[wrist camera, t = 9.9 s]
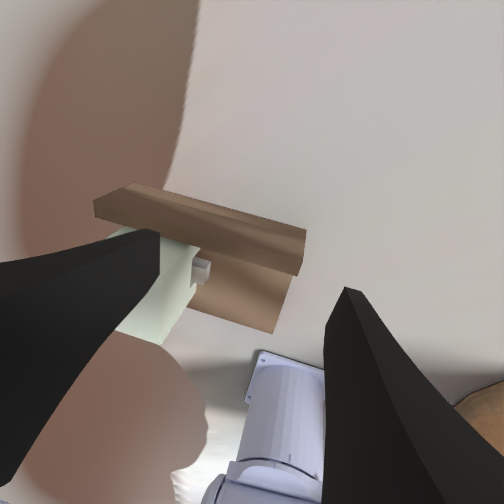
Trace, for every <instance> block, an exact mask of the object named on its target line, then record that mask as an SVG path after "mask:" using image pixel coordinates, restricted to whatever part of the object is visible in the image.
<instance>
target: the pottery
mask: <svg viewBox="0 0 504 504" xmlns="http://www.w3.org/2000/svg"><path fill="white" fill-rule="evenodd" d="M454 409H455V410H456V411H457V412H458V413H459V414H460V415H461V416H462V417H463V418H464V419H465V420H466V421H467V422H468V423H469V424H470V425H471V426H472V427H473V428H474V429H475V430H476V431H477V432H478V433H479V434H480V435H481V436H482V437H483V438H484V439H485V440H486V441H487V442H489V443H490V444H491V445H492V446H493V447H494V448H495V449H496V450H497V451H498V452H499V453H500V454H501V455H503V456H504V381H502V382H500V383H497V384H495V385H492V386H490V387H487V388H485V389H482V390H480V391H477V392H475V393H472V394H470V395H469V396H467V397H466V398H465V399H464V400H463V401H461V402H460V403H459V404H458V405H456V406H455V407H454Z"/></svg>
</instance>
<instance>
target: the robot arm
mask: <svg viewBox="0 0 504 504" xmlns="http://www.w3.org/2000/svg"><path fill="white" fill-rule="evenodd" d="M159 275H160V232H157V231H153V230H150V229H147V228H145V229H140V230H136V231H132V232H128V233H125V234H121V235H118V236H115V237H111V238H108V239H104V240H101V241H97V242H94V243H91V244H87V245H83V246H79V247H75V248H71V249H68V250H63V251H60V252H55V253H51V254H46V255H42V256H37V257H31V258H26V259H21V260H15V261H9V262H1V263H0V487H2V486H4V485H5V484H7V483H8V482H10V481H11V479H12V478H13V476H14V474H15V473H16V471H17V469H18V468H19V466H20V464H21V463H22V461H23V459H24V458H25V456H26V454H27V453H28V451H29V450H30V448H31V446H32V445H33V443H34V441H35V440H36V438H37V437H38V435H39V434H40V432H41V430H42V429H43V427H44V426H45V424H46V423H47V421H48V420H49V418H50V417H51V415H52V414H53V412H54V411H55V409H56V407H57V406H58V405H59V403H60V401H61V400H62V398H63V397H64V396H65V394H66V393H67V391H68V390H69V388H70V387H71V386H72V384H73V383H74V381H75V380H76V378H77V377H78V375H79V374H80V373H81V371H82V370H83V369H84V367H85V366H86V364H87V363H88V362H89V361H90V359H91V358H92V356H93V355H94V354H95V352H96V351H97V350H98V348H99V347H100V346H101V345H102V344H103V342H104V341H105V340H106V338H108V336H109V335H110V334H111V333H112V332H113V331H114V330H115V329H116V328H117V327H118V325H119V324H120V323H121V322H122V321H123V320H124V319H125V318H126V317H127V316H128V314H129V313H130V312H131V311H132V310H133V309H134V308H135V307H136V306H137V304H138V303H139V302H140V301H141V300H142V299H143V298H144V297H145V295H146V294H147V293H148V291H149V290H150V289H151V287H152V286H153V284H154V283H155V281H156V280H157V278H158V276H159ZM323 357H324V370H321V369H318V368H315V367H312V366H309V365H306V364H303V363H299V362H296V361H293V360H290V359H287V358H284V357H281V356H278V355H275V354H272V353H269V352H266V351H261V352H260V354H259V357H258V360H257V363H256V366H255V369H254V372H253V375H252V378H251V381H250V384H249V387H248V391H247V394H246V397H245V400H244V401H245V403H246V404H249V409H248V413H247V417H246V421H245V425H244V430H243V434H242V438H241V442H240V446H239V450H238V455H237V459H236V462H234V461H230V463H229V466H228V470H227V474H226V475H225V474H219V475H218V476H217V477H216V478H215V480H214V481H213V482H211V484H210V485H209V486H208V488H207V490H206V492H205V494H204V496H203V499H202V501H201V504H504V456H503V455H501V454H500V453H499V452H498V451H497V450H496V449H495V448H494V447H493V446H492V445H491V444H490V443H489V442H487V441H486V440H485V439H484V438H483V437H482V436H481V435H480V434H479V433H478V432H477V431H476V430H475V429H474V428H473V427H472V426H471V425H470V424H469V423H468V422H467V421H466V420H465V419H464V418H463V417H462V416H461V415H460V414H459V413H458V412H457V411H456V410H455V409H454V408H453V407H452V406H451V405H450V404H449V403H448V402H447V401H446V399H445V398H444V397H443V396H442V395H441V394H440V393H439V392H438V391H437V390H436V388H435V387H434V386H433V385H432V384H431V383H430V382H429V381H428V380H427V378H426V377H425V376H424V375H423V374H422V373H421V371H420V370H419V369H418V368H417V367H416V365H415V364H414V363H413V362H412V360H411V359H410V358H409V357H408V355H407V354H406V353H405V352H404V350H403V349H402V348H401V346H400V345H399V344H398V342H397V341H396V340H395V338H394V337H393V336H392V334H391V333H390V331H389V330H388V329H387V327H386V326H385V324H384V323H383V322H382V320H381V319H380V317H379V316H378V314H377V313H376V311H375V310H374V308H373V307H372V306H371V304H370V303H369V301H368V300H367V298H366V297H365V295H364V294H363V293H362V292H361V291H358V290H355V289H351V288H348V287H344V289H343V291H342V293H341V295H340V297H339V299H338V301H337V303H336V305H335V307H334V309H333V311H332V313H331V315H330V317H329V320H328V322H327V324H326V326H325V336H324V348H323ZM324 401H325V403H326V435H325V454H324V470H323V402H324ZM0 504H9V503H7V502H5V501H3V500H0Z"/></svg>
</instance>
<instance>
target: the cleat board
mask: <svg viewBox="0 0 504 504" xmlns="http://www.w3.org/2000/svg"><path fill="white" fill-rule="evenodd" d="M93 203H94V211H95V217H97V218H100V219H103V220H107V221H110V222H114V223H117V224H121V225H124V226H127V227H131V228H134V229H137V230H140V229H145V228H147V229H150V230H153V231H157V232H160V236H161V237H165V238H168V239H171V240H175V241H178V242H182V243H185V244H188V245H192V246H195V247H199V248H200V250H199V251H198V252H197V254H196V255H195V256H194V257H193V258H192V269H191V280H190V282H194V283H197V285H196V292H195V294H194V295H193V297H192V298H191V300H190V301H189V303H188V304H187V306H186V307H188V308H191V309H194V310H197V311H200V312H204V313H207V314H210V315H213V316H216V317H219V318H222V319H226V320H229V321H232V322H235V323H238V324H241V325H244V326H248V327H251V328H254V329H257V330H260V331H263V332H266V333H270V334H273V332H274V329H275V326H276V323H277V320H278V317H279V314H280V311H281V308H282V306H283V303H284V300H285V297H286V294H287V291H288V288H289V285H290V282H291V279H292V277H293V275H294V276H298V273H299V270H300V267H301V265H302V262H303V255H304V247H305V239H306V231H307V230H305V229H302V228H298V227H294V226H291V225H287V224H284V223H280V222H276V221H273V220H269V219H266V218H262V217H258V216H255V215H251V214H248V213H244V212H240V211H237V210H233V209H229V208H226V207H222V206H219V205H215V204H211V203H208V202H204V201H201V200H197V199H193V198H190V197H186V196H182V195H179V194H175V193H172V192H168V191H164V190H161V189H157V188H154V187H150V186H146V185H142V184H139V183H136V182H134V183H131V184H129V185H127V186H125V187H122V188H120V189H118V190H116V191H113V192H111V193H109V194H107V195H105V196H102V197H100V198H98V199H95V200H93Z"/></svg>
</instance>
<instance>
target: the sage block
mask: <svg viewBox="0 0 504 504" xmlns="http://www.w3.org/2000/svg"><path fill="white" fill-rule="evenodd" d="M136 230H137V229H134V228H131V227H127V226H124V227H122V228H121V229H119V230H118V231H116V232H114V233H113V234H111V235H110V236H108V237H107V238H105V239H108V238H111V237H115V236H118V235H121V234H125V233H128V232H132V231H136ZM199 250H200V248H199V247H195V246H192V245H188V244H185V243H182V242H178V241H175V240H171V239H168V238H165V237H161V236H160V275H159V276H158V278H157V280H156V281H155V283H154V284H153V286H152V287H151V289H150V290H149V291H148V293H147V294H146V295H145V297H144V298H143V299H142V300H141V301H140V302H139V303H138V304H137V306H136V307H135V308H134V309H133V310H132V311H131V312H130V313H129V314H128V316H127V317H126V318H125V319H124V320H123V321H122V322H121V323H120V324H119V325H118V327H117V328H116V329H115V330H117V331H120V332H123V333H126V334H129V335H132V336H135V337H137V338H141V339H143V340H147V341H149V342H153V343H155V344H158V345H161V344H162V343H163V341H164V340H165V338H166V336H167V335H168V333H169V332H170V330H171V329H172V327H173V326H174V324H175V323H176V321H177V320H178V318H179V317H180V315H181V314H182V312H183V311H184V309H185V307H186V306H187V304H188V303H189V301H190V300H191V298H192V297H193V295H194V294H195V292H196V285H197V283H194V282H190V280H191V269H192V258H193V257H194V256H195V255H196V254H197V252H198V251H199Z"/></svg>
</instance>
